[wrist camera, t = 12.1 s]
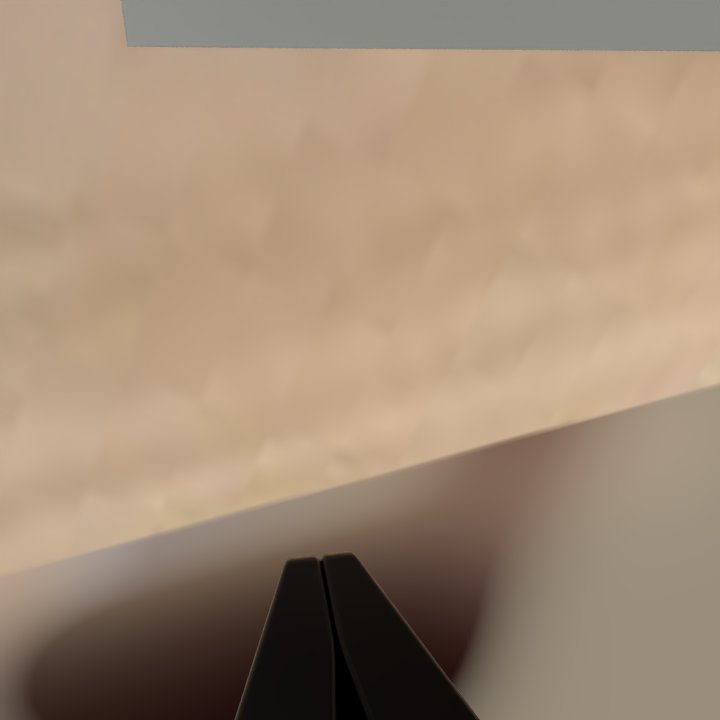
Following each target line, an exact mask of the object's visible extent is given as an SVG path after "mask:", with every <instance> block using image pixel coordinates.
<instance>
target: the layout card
mask: <svg viewBox="0 0 720 720" xmlns="http://www.w3.org/2000/svg"><path fill="white" fill-rule="evenodd" d="M121 3H122V10H123V17H124V24H125V31H126V39H127V46H128V47H221V48H351V49H481V50H611V51H720V0H121Z"/></svg>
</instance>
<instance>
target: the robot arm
mask: <svg viewBox="0 0 720 720" xmlns="http://www.w3.org/2000/svg"><path fill="white" fill-rule="evenodd" d="M235 720H480V719H479V718H478V717H477V715H476V714H475V713H474V711H473V710H472V709H471V708H470V706H469V705H468V703H467V702H466V701H465V699H464V698H463V697H462V695H461V694H460V693H459V691H458V690H457V689H456V688H455V686H454V685H453V683H452V682H451V681H450V679H449V678H448V677H447V676H446V674H445V673H444V672H443V670H442V669H441V667H440V666H439V665H438V663H437V662H436V661H435V659H434V658H433V657H432V656H431V654H430V653H429V651H428V650H427V649H426V647H425V646H424V645H423V643H422V642H421V641H420V640H419V638H418V637H417V635H416V634H415V633H414V631H413V630H412V629H411V627H410V626H409V625H408V623H407V622H406V621H405V619H404V618H403V617H402V615H401V614H400V613H399V611H398V610H397V609H396V608H395V606H394V605H393V603H392V602H391V601H390V599H389V598H388V597H387V595H386V594H385V593H384V592H383V590H382V589H381V587H380V586H379V585H378V583H377V582H376V581H375V579H374V578H373V577H372V575H371V574H370V573H369V572H368V570H367V569H366V568H365V566H364V565H363V564H362V562H361V561H360V559H359V558H358V557H357V556H356V555H355V554H354V553H352V552H349V551H346V552H338V553H329V554H324V555H323V556H321V558H320V559H319V558H318V557H317V556H314V555H311V556H302V557H293V558H289V559H287V560H286V561H285V563H284V565H283V568H282V572H281V575H280V578H279V581H278V584H277V587H276V591H275V594H274V597H273V601H272V603H271V606H270V610H269V613H268V616H267V619H266V623H265V625H264V629H263V632H262V635H261V638H260V641H259V645H258V648H257V651H256V654H255V657H254V660H253V664H252V667H251V670H250V673H249V676H248V679H247V682H246V686H245V689H244V692H243V695H242V698H241V701H240V705H239V708H238V711H237V714H236V717H235Z"/></svg>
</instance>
